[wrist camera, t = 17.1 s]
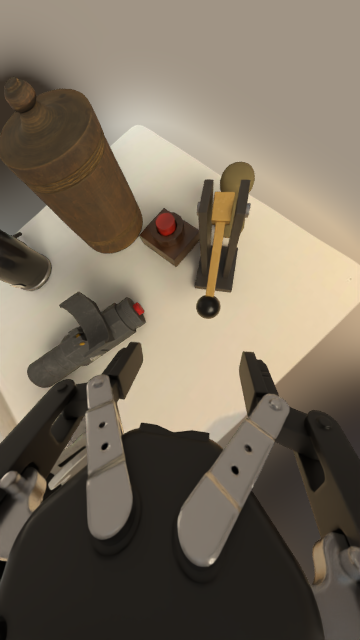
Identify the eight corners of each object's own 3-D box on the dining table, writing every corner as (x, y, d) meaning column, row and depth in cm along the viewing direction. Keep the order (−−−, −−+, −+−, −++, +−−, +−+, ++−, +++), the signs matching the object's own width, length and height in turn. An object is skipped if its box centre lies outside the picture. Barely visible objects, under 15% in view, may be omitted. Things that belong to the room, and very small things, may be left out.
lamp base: (143, 243, 38) (135, 228, 34) (166, 217, 38) (161, 200, 34) (176, 267, 36) (172, 255, 31) (200, 239, 36) (199, 223, 32)
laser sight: (49, 352, 36) (-9, 351, 26) (135, 293, 36) (108, 270, 26) (65, 393, 34) (9, 409, 24) (158, 330, 33) (138, 320, 24)
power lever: (218, 316, 26) (218, 323, 23) (196, 313, 26) (193, 319, 23) (238, 201, 21) (241, 190, 18) (211, 200, 21) (209, 189, 18)
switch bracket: (230, 292, 33) (253, 234, 17) (195, 288, 34) (185, 230, 18) (236, 251, 34) (262, 162, 18) (202, 248, 36) (199, 163, 20)
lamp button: (154, 230, 33) (151, 223, 32) (166, 216, 34) (164, 209, 32) (167, 239, 33) (165, 232, 31) (179, 225, 33) (178, 218, 31)
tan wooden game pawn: (230, 243, 35) (240, 193, 24) (208, 227, 36) (209, 174, 26) (250, 223, 35) (269, 165, 24) (228, 208, 36) (237, 147, 26)
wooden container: (132, 190, 42) (54, 19, 20) (151, 236, 38) (81, 87, 17) (79, 216, 43) (-47, 79, 21) (93, 264, 39) (-42, 155, 18)
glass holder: (60, 456, 31) (-65, 544, 17) (113, 399, 32) (36, 435, 17) (88, 499, 29) (-30, 642, 15) (144, 436, 30) (85, 514, 15)
